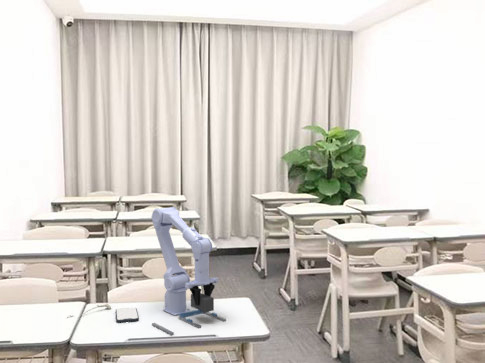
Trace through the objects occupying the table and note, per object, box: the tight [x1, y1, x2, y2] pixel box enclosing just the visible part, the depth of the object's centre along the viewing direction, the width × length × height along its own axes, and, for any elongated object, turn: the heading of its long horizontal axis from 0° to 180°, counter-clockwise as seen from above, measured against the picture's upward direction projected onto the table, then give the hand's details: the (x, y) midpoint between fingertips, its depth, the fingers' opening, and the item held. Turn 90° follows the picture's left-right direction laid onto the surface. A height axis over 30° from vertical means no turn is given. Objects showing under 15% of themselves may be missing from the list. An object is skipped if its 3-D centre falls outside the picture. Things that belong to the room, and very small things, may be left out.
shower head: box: [81, 303, 112, 316], centre depth 206 cm, size 5×3×20 cm
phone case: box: [115, 307, 140, 324], centre depth 202 cm, size 9×2×16 cm
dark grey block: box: [190, 292, 215, 312], centre depth 197 cm, size 10×4×5 cm, turn 40°
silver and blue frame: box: [151, 309, 227, 337], centre depth 194 cm, size 15×25×2 cm, turn 130°
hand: (202, 303), depth 197 cm, fingers closed on dark grey block, 4 cm apart
